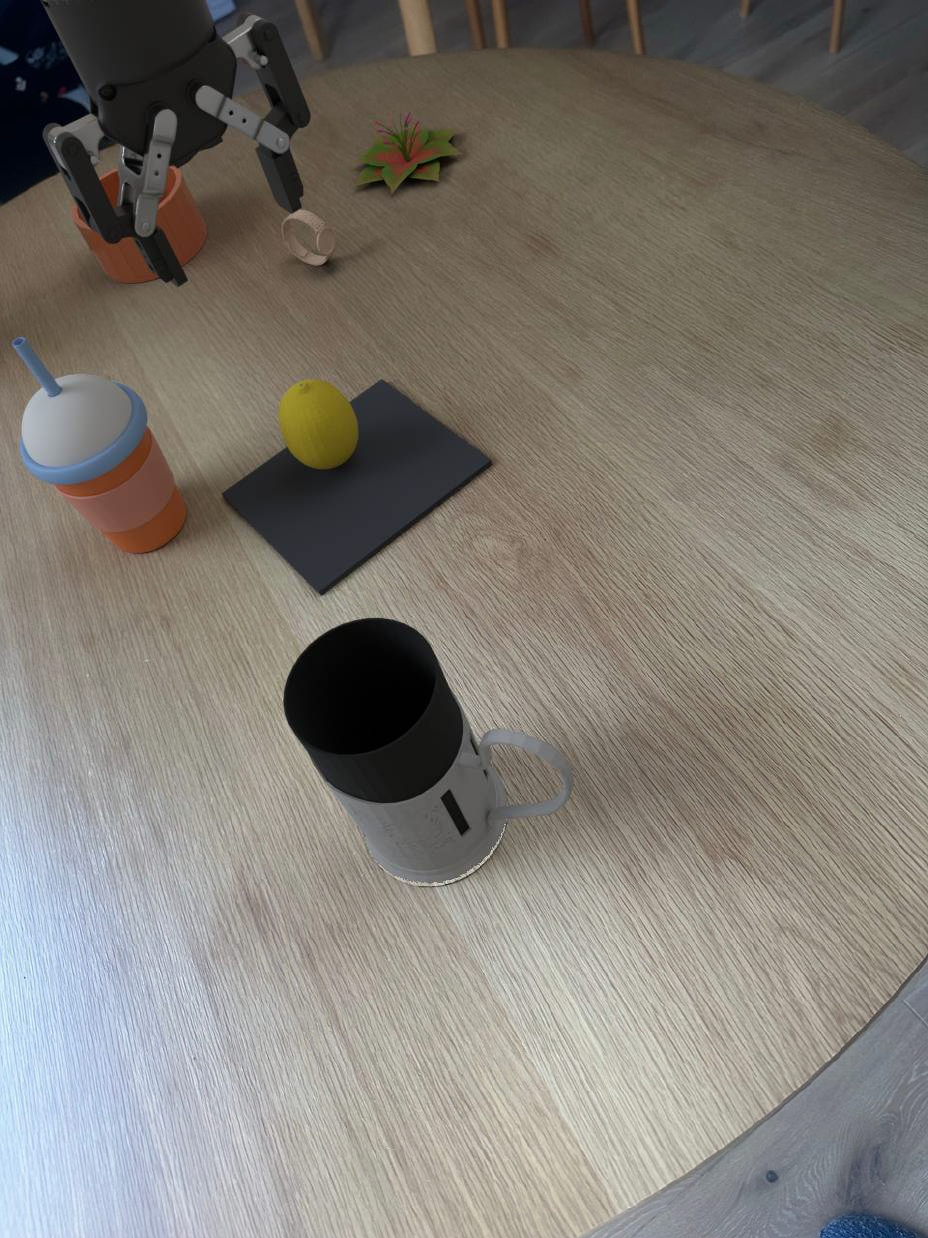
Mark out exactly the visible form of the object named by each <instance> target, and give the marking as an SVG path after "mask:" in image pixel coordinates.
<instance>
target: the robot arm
mask: <svg viewBox="0 0 928 1238" xmlns="http://www.w3.org/2000/svg"><path fill="white" fill-rule="evenodd" d="M40 2H41V4H42V6H43V8H44V9H45V11H46V14H47V15H48V18H49V20H50V21H51V24H52V25H53V28H54V29H55V31H56V33H57V35H58V37H59V39H60V41H61V43H62V45H63V47H64V48H65V51H66V53H67V55H68V56H69V58H70V61H71V63H72V64H73V66H74V68H75V70H76V72H77V74H78V76H79V78H80V80H81V81H82V84H83V85H84V87H85V90H86V92H87V96H88V100H89V101H88V102H89V114H86V115H84V116H83V117H80V118H79V119H77V120H74V121H72V122H70V123H68V124H66V125H64V126H62V125H61V124H58V123H56V122H51V123H48V124H47V125H45V127H44V128H43V130H42V138H43V141H44V142H45V145H46V147H47V148H48V151H49V153H50V155H51V157H52V159H53V161H54V163H55V165H56V168H57V169H58V171H59V173H60V175H61V177H62V179H63V180H64V183H65V185H66V187H67V189H68V191H69V193H70V195H71V197H72V199H73V202H75V203H76V205H77V207H78V209H79V211H80V213H81V215H82V217H83V219H84V221H85V223H86V225H87V226H88V227H89V228H91V229H92V230H93V231H95V232H97V233H98V234H99V235H100V236H101V238H102V239H104V240H105V241H106V242H107V243H109V244H116V243H118V242H120V241H121V239H122V238H126V237H132V238H133V240H134V242H135V244H136V246H137V248H138V249H139V251H140V253H141V255H142V257H143V259H144V260H145V262H146V264H147V266H148V268H149V269H150V270H151V271H152V272H153V273H154V274H156V275H157V276H158V277H159V278H158V279H160V280H161V281H163V282H164V283H165V284H167V283H169V282H170V283H172V284H173V285H174V286H176V287H177V288H180V287H181V286H183V285H185V284H186V283H188V281H189V280H188V279H189V278H188V276H187V274H186V273H185V271H184V269H183V266H182V267H181V265H180V263H179V261H178V259H177V257H176V255H175V253H174V251H173V249H172V247H171V245H170V243H169V241H168V239H167V237H166V235H165V233H164V231H163V230H162V229H161V228H160V227H159V226H157V225H156V219H157V212H158V205H159V199H160V197H161V196H163V195H164V193H165V188H166V181H167V174H168V168H169V167H171V166H174V167H176V168H177V169H178V168H179V169H181V167H183V166H185V165H186V164H188V163H190V162H191V160H192V159H193V158H195V156H196V155H197V154H198V153H199V152H202V151H206V150H209V149H213V148H215V147H216V146H218V145H219V144H221V143H223V142H224V139H223V136H224V134H225V133H226V132H227V130H228V127H229V126H230V127H231V128H233V129H234V130H237V131H238V132H240V133H241V134H243V135H245V136H246V137H248V138H249V139H250V138H251V139H252V140H253V141H256V142H257V144H258V146H257V147H255V148H254V151H255V153H256V155H257V158H258V160H259V164H260V166H261V169H262V171H263V173H264V176H265V178H266V181H267V184H268V186H269V189H270V191H271V194H272V197H273V199H274V201H275V202H276V204H277V205H278V206H279V207H280V208H282V209H283V210H285V211H286V212H287V213H289V214H293V213H295V212H296V211H298V210H299V209H300V210H302V208H303V205H302V202H301V200H300V199H301V198H302V197H304V196H305V195H304V184H303V181H302V179H301V176H300V173H299V171H298V168H297V165H296V162H295V159H294V157H293V154H292V152H291V147H290V145H291V140H292V137H293V136H294V135H295V133H296V132H297V131H298V130H299V129H304V128H306V127H308V125H309V123H310V121H311V118H312V114H311V110H310V108H309V106H308V103H307V101H306V98H305V95H304V93H303V90H302V88H301V85H300V82H299V80H298V78H297V75H296V73H295V70H294V67H293V65H292V63H291V60H290V57H289V55H288V53H287V49H286V47H285V45H284V43H283V40H282V38H281V35H280V32H279V30H278V27H277V26H276V25H275V23H273V22H271V21H269V20H266V19H264V18H263V17H260V16H258V15H256V14H253V13H251V12H249V11H244V12H241V13H240V14H239V15H238V17H237V20H236V28H234V29H233V30H231V31H229V33H227V34H226V35H224V36H221V35H220V33H219V32H218V31H217V28H216V26H215V22H214V17H213V15H212V12H211V9H210V7H209V4H208V2H207V0H40ZM237 59H240V60H241V61H242V63H243V64H244V65H246V66H248V67H250V68H252V69H254V70H255V73H256V75H257V78H258V80H259V83H260V85H261V87H262V89H263V92H264V94H265V96H266V99H267V101H268V104H269V107H270V108H271V109H270V110H269V111H268V112H267V114H266V115H265V117H264V118H262V117H260V116H259V115H257V114H256V113H254V112H252V111H251V110H249V109H248V108H245V107H244V106H242V105H241V104H239V103H238V102H236V101H235V100H233V96H234V89H235V82H236V75H237V71H238V70H237V69H238V62H237ZM104 137H106V138H107V139H108V140H110V141H112V142H114V143H116V144H118V145H119V146H120V147H119V155H118V162H117V168H118V175H119V178H120V188H119V196H118V204H117V207H112V205H111V203H110V201H109V199H108V196H107V194H106V192H105V190H104V188H103V186H102V184H101V182H100V179H99V177H100V176H99V175H98V173H97V171H96V169H95V167H97V166H98V165H99V163H100V160H101V153H100V149H99V144H100V142H101V139H102V138H104Z"/></svg>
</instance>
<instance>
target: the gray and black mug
mask: <svg viewBox="0 0 928 1238" xmlns="http://www.w3.org/2000/svg"><path fill="white" fill-rule="evenodd" d="M458 698H459V697H457V695H456V694H455V692H454V691H453V689H452V688H451V687H450V685H449V683H448V680H447V678H446V675H445V674H444V672H443V668H442V667H441V665H440V662H439V660H438V658H437V655H436V653H435V651H434V649H433V647H432V645H431V644H430V642H429V641H428V640H427V638H426V637H425V636H424V635H423V634H422V633H421V632H419V631H418V630H417V629H416V628H414V627H412V626H410V625H409V624H407V623H405V622H402V621H399V620H396V619H393V618H385V617H365V618H359V619H353V620H350V621H347V622H344V623H341V624H338V625H337V626H335V627H333V628H330V629H328V630H327V631H325V632H324V633H322V634H321V635H319V636H318V637H317V638H315V639H314V640H313V641H312V642H311V643H310V644H308V645H307V647H306V648H305V649H304V650H303V651H302V652H301V653H300V655H299V656H298V657H297V659H296V660H295V662H294V663H293V664H292V666H291V668H290V671H289V673H288V675H287V677H286V681H285V685H284V689H283V699H282V704H283V711H284V712H283V713H284V716H285V719H286V722H287V724H288V727H289V728H290V730H291V731H292V733H293V734H294V736H295V737H296V739H297V740H298V742H300V744H301V746H302V747H303V748H304V750H305V751H306V752H307V754H308V756H309V759H310V761H311V762H312V764H313V767H315V769H316V771H317V772H318V774H319V775H320V777H321V778H322V780H323V781H324V783H325V784H326V785H327V787H328V788H329V789H330V790H331V792H332V793H333V794H334V796H335V798H336V799H337V800H338V801H339V803H340V804H341V805H342V806H343V809H345V810H346V812H347V814H348V815H349V816H350V817H351V819H352V820H353V822H355V824H356V825H357V827H358V828H359V829H360V830H361V832H362V834H363V833H364V834H363V836H364V835H365V840H366V842H367V845H368V848H367V850H368V849H369V850H370V851H371V854H372V855H373V857H374V859H375V860H376V861H377V862H378V864H380V865H381V866H382V867H383V868H384V869H385V870H386V871H388V872H389V873H391V874H393V875H394V876H397V877H400V878H403V880H404V879H405V880H407V879H408V880H407V881H411V882H413V881H414V882H416V883H418V882H421V883H424V882H426V883H429V884H431V883H434V882H437V883H443V881H446V880H452V879H454V878H458V877H461V876H460V875H462V874H465V873H467V871H469V870H470V869H472V868H473V867H474V866H477V865H479V864H478V863H481V862H482V861H483V859H484V858H485V857H486V856H488V855H489V854H490V852H491V850H492V847H493V848H494V846H495V845H496V842H498V839H500V838H499V837H501V833H502V832H503V828H504V826H505V825H504V824H506V821H507V820H506V819H508V820H514V819H527V818H535V817H544V816H545V817H546V816H550V815H553V814H554V813H556V812H558V811H560V810H561V809H562V808H563V807H564V806H566V804H567V803H568V802H569V799H570V797H571V794H572V792H573V789H574V785H575V783H574V782H575V780H574V772H573V768H572V766H571V764H570V762H569V761H568V759H567V757H566V756H565V755H563V753H562V752H561V751H560V750H558V749H557V748H556V747H554V746H553V745H551V744H549V743H547V742H546V741H544V740H542V739H540V738H537V737H535V736H533V735H530V734H528V733H524V732H521V731H517V730H515V729H507V728H495V729H494V728H493V729H491V730H489V731H487V732H485V733H484V734H483V736H482V738H481V740H480V742H479V743H478V741H477V739H476V736H475V734H474V732H473V730H472V727H471V725H470V722H469V720H468V718H467V715H466V713H465V711H464V708H463V707H462V705H461V702H460V700H459V699H458ZM493 745H506V746H510V747H511V746H512V747H515V748H518V749H521V750H524V751H526V752H529V753H531V754H533V755H536V756H537V757H539V758H541V759H542V760H544V761H545V762H548V763H549V765H550V766H552V767H553V768H554V769H555V770H556V771H557V773H558V775H559V776H560V778H561V780H562V788H563V791H561V792H560V793H559V794H558V795H557V796H555V797H553V798H551V799H549V800H545V801H540V802H534V803H533V802H532V803H525V804H510V805H509V804H508V806H507V798H508V794H507V791H505V790H506V787H505V785H504V783H503V781H502V778H501V776H500V775H499V774H498V772H497V771H496V769H494V767H493V766H492V765H491V761H492V760H493V752H492V748H491V746H493ZM504 787H505V788H504ZM505 792H506V793H505ZM506 794H507V795H506ZM365 840H364V841H365ZM367 845H366V846H367ZM417 881H418V882H417Z"/></svg>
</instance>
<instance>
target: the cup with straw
mask: <svg viewBox="0 0 928 1238" xmlns="http://www.w3.org/2000/svg"><path fill="white" fill-rule="evenodd" d="M11 345H12V347H13V348H14V350H15V351H16V352H17V354H18V355H19V357H20V358H21V359H22V361H23V362H24V363H25V365H26V366H27V367H28V369H29V370H30V371H31V373H32V375H34V377H35V378H36V380H37V381H38V382H39V384H40V385H41V388H40V389H38V391H36V392H35V393H34V394H33V396H32V397H31V398H30V400H29V401H28V403H27V405H26V407H25V409H24V412H23V416H22V420H21V437H20V442H19V453H20V457H21V459H22V462H23V465H24V466H25V468H26V469H27V470H28V472H29V473H30V474H32V475H33V476H34V477H35V478H36V479H38V480H40V481H42V482H44V483H47V484H49V485H50V484H51V485H52V486H53V488H54V489H55V490H56V491H57V492H58V493H59V494H60V495H61V496H62V497H63V498H64V499H65V500H66V501H67V502H68V503H69V504H70V505H71V506H72V507H73V508H74V509H75V510H76V511H77V512H78V513H79V514H80V515H81V516H82V517H83V518H84V519H85V520H86V521H87V522H88V523H89V524H90V525H91V526H92V527H93V528H95V529H96V530H99V531H100V532H102V533H103V534H104V535H105V536H106V538H107V539H109V540H110V541H111V542H112V543H113V544H114V545H115V546H116V547H117V548H118V549H120V550H121V551H124V552H126V553H130V554H143V553H148V552H151V551H155V550H156V549H159V548H161V547H163V546H164V545H166V544H168V543H169V542H170V541H171V540H172V539H174V538H175V537H176V536H177V534H179V532H180V531H181V530H182V528H183V526H184V524H185V522H186V518H187V506H186V503H185V501H184V499H183V497H182V494H181V492H180V491H179V489H178V486H177V484H176V483H175V475H174V473H173V471H172V469H171V467H170V465H169V464H168V461H167V459H166V457H165V456H164V455H165V454H164V453H163V451H162V449H161V447H160V445H159V443H158V441H157V439H156V437H155V436H154V435H155V434H154V433H153V432H152V430H151V428H150V427H149V425H148V410H147V407H146V405H145V402H144V401H143V399H142V397H140V395H139V394H138V393H137V392H136V391H135V390H134V389H132V388H131V387H129V386H128V385H126V384H124V383H121V382H118V381H111V380H109V379H107V378H105V377H102V376H98V375H94V374H88V373H74V374H68V375H64V376H60V377H57V378H54V376H53V375H52V374H51V373H50V371H49V370H48V368H47V367H46V365H45V364H44V362H43V361H42V360H41V358H40V357H39V356H38V354H37V353H36V352H35V350H34V349H33V347H32V346H31V345H30V343H29V342H28V340H27V339H26V338H25V336H19V337H17V338H15V339H14V340H13V341H12V344H11Z"/></svg>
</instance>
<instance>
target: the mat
mask: <svg viewBox="0 0 928 1238" xmlns="http://www.w3.org/2000/svg"><path fill="white" fill-rule="evenodd" d="M349 403H350V404H351V406H352V408H353V411H354V413H355V416H356V418H357V422H358V441H357V445H356V448H355V450H354V452H353V453H352V455H351V456H350V457H349V458H348V460H347V461H346V462H344V463H343V464H341V465H339V466H337V467H335V468H331V469H315V468H312V467H309V466H307V465H305V464H303V463H302V462H300V461H299V460H298V459H297V458H296V457H295V456H294V455H293V454H292V453H291V452H290V450H289V448H288V447H287V446H286V447H285V448H283V449H282V450H280V451H279V452H277V453H276V454H274V455H273V456H272V457H270V458H269V459H267V460H266V461H265V462H263V463H261V465H259V466H258V467H257V468H255V469H254V470H252V471H251V472H250V473H248V474H247V475H245V476H244V477H243V478H241V479H239V480H238V481H237V482H236V483H234V484H233V485H232V486H230V487H229V488H227V489H226V490H224V491H222V493H221V496H222V497H223V499H224V500H226V502H228V504H229V505H230V506H231V507H233V509H234V510H235V511H236V512H237V513H238V514H239V515H240V516H241V517H242V518H243V519H244V520H245V521H246V522H247V524H249V525H250V526H251V527H252V528H253V529H254V530H255V531H256V532H257V533H258V534H259V535H260V536H261V538H263V539H264V540H265V541H266V542H267V543H268V544H269V546H271V547H272V548H273V549H274V550H275V551H276V552H277V553H278V554H279V555H280V556H281V557H282V558H283V559H284V560H285V561H286V562H287V563H288V565H290V566H291V567H292V569H294V570H295V571H296V572H297V573H298V574H299V575H300V577H301V578H303V579H304V580H305V581H306V583H308V584H309V586H310V587H311V588H312V589H313V590H314V591H315V592H316V593H318V595H319V596H322V595H324V594H325V593H326V592H328V591H329V590H330V589H332V588H333V587H334V586H335V585H338V584H339V582H341V581H342V580H344V579H345V578H346V577H348V576H349V575H350V574H352V572H354V571H356V569H358V568H359V567H360V566H362V565H363V564H365V563H366V562H367V561H369V560H370V559H371V558H372V557H373V556H375V555H376V554H377V553H378V552H380V551H382V550H383V549H384V548H385V547H387V546H388V545H389V544H390V543H392V542H393V541H394V540H396V539H397V538H398V537H399V536H401V535H402V534H403V533H405V532H406V531H407V530H409V529H410V528H411V527H413V526H414V525H415V524H416V523H418V522H419V521H420V520H421V519H423V518H424V517H426V516H427V515H428V514H430V513H431V512H432V511H434V510H435V509H436V508H437V507H439V506H440V505H441V504H442V503H444V502H445V501H447V500H448V499H449V498H451V496H453V495H455V494H456V493H457V492H458V491H459V490H461V489H462V488H463V487H465V486H466V485H467V484H468V483H470V482H471V481H473V480H474V479H475V478H476V477H478V475H480V474H481V473H482V472H484V471H486V470H487V469H488V468H490V467H491V466H492V465H493V462H492V459H491V458H489V457H488V456H487V455H486V454H485V453H483V452H481V451H480V450H479V449H477V448H476V447H475V446H473V445H472V444H471V443H469V442H468V441H467V440H465V439H464V438H462V437H461V436H460V435H458V434H457V433H456V432H454V431H453V430H451V429H450V428H449V427H448V426H446V425H445V424H444V423H442V422H441V421H439V420H438V419H437V418H436V417H434V416H433V415H431V414H430V413H428V412H427V411H426V410H424V409H423V408H422V407H421V406H419V405H418V404H416V403H415V402H414V401H413V400H411V399H409V398H408V397H407V396H405V394H403V393H402V392H400V391H399V390H398V389H396V388H395V387H394V386H392V385H391V384H389V382H386V381H385V380H384V379H382V378H381V379H379V380H378V381H377V382H375V383H373V385H371V386H369V387H368V388H367V389H366V390H364V391H363V392H361V393H360V394H358V395H357V396H356V397H354V398H352V399H351V400H350V401H349Z"/></svg>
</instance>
